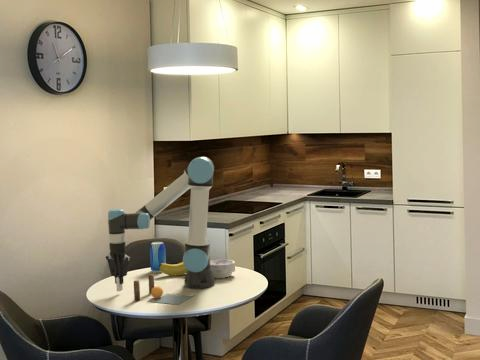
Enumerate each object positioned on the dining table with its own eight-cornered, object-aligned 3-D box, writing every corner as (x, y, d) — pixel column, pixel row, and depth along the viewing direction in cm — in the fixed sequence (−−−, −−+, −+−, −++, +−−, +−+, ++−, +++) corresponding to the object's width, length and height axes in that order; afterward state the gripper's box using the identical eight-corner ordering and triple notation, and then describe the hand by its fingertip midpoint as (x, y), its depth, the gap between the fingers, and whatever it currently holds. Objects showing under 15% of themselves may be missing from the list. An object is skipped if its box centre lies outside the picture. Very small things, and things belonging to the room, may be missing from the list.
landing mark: (193, 296, 280) (193, 296, 280) (178, 304, 268) (178, 304, 268) (167, 294, 286) (167, 293, 286) (151, 302, 273) (151, 301, 273)
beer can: (163, 273, 329) (162, 244, 328) (148, 273, 331) (147, 244, 330) (168, 269, 337) (166, 241, 336) (153, 269, 339) (152, 241, 338)
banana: (160, 278, 318) (158, 240, 317) (158, 275, 324) (156, 239, 322) (201, 274, 324) (200, 237, 323) (199, 271, 330) (198, 235, 328)
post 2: (155, 292, 289) (154, 274, 288) (152, 294, 287) (151, 275, 286) (151, 292, 290) (150, 274, 290) (148, 293, 288) (147, 275, 287)
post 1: (141, 299, 278) (140, 280, 277) (138, 301, 275) (137, 282, 275) (136, 299, 279) (135, 280, 278) (133, 300, 276) (132, 281, 276)
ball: (153, 293, 284) (163, 298, 282) (147, 296, 279) (156, 301, 277) (157, 282, 282) (166, 288, 280) (150, 285, 277) (160, 291, 275)
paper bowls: (227, 271, 328) (227, 257, 327) (240, 277, 314) (240, 262, 314) (202, 275, 321) (201, 261, 320) (214, 281, 307) (213, 266, 307)
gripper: (133, 241, 287) (135, 289, 289) (110, 239, 292) (113, 287, 294) (124, 244, 280) (126, 293, 282) (101, 242, 286) (103, 291, 287)
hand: (119, 290), depth 288 cm, fingers closed
